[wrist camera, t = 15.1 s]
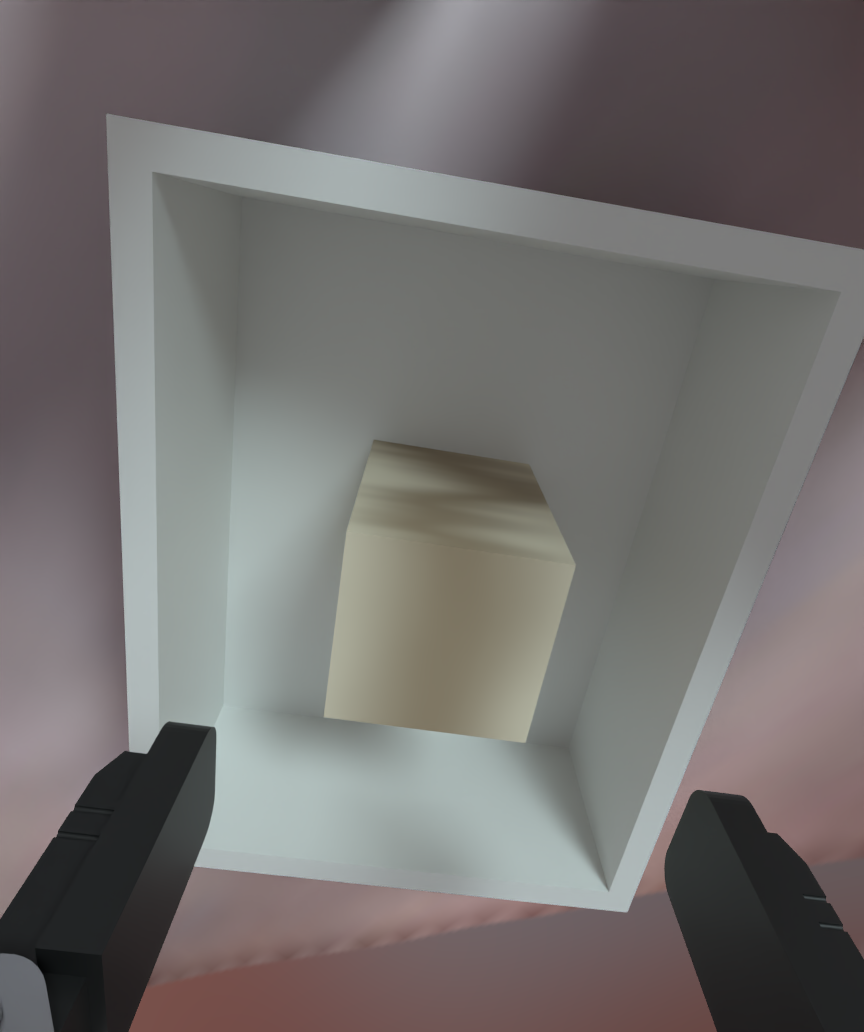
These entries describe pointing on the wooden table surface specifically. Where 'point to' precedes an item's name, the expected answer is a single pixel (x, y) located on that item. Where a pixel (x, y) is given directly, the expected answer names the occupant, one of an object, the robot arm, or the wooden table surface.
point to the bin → (461, 429)
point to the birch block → (447, 595)
